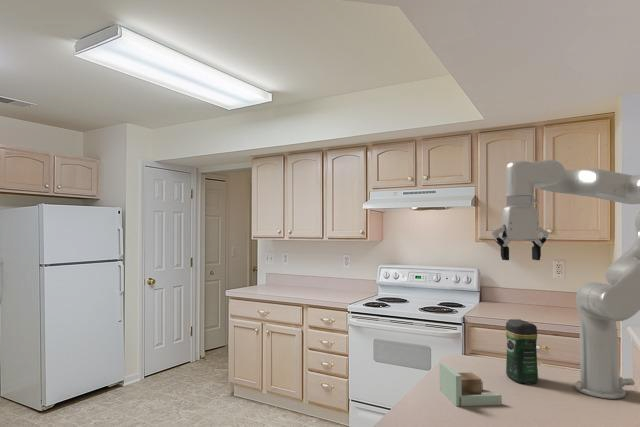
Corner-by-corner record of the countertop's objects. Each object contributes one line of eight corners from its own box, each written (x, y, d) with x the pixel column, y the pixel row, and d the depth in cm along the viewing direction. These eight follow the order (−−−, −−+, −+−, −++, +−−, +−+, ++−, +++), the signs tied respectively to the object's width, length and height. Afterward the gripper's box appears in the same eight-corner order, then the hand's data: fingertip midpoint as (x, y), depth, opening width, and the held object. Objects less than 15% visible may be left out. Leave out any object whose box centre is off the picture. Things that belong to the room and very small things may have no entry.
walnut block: (472, 393, 128) (471, 372, 129) (481, 401, 123) (481, 379, 123) (452, 394, 128) (451, 372, 128) (460, 402, 122) (460, 379, 122)
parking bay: (481, 388, 132) (481, 361, 132) (501, 404, 120) (501, 374, 120) (439, 390, 131) (439, 362, 131) (456, 406, 119) (456, 375, 119)
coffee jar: (542, 384, 136) (541, 323, 137) (518, 385, 135) (517, 323, 136) (525, 374, 146) (524, 317, 146) (502, 374, 145) (501, 317, 146)
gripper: (539, 203, 138) (540, 259, 137) (486, 203, 136) (487, 259, 135) (554, 202, 130) (555, 260, 130) (498, 201, 129) (499, 260, 128)
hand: (520, 260), depth 133 cm, fingers open, 9 cm apart
